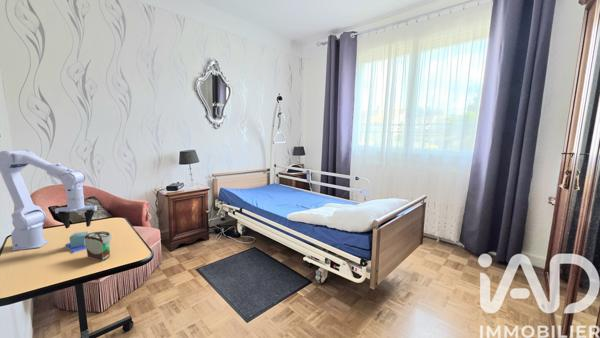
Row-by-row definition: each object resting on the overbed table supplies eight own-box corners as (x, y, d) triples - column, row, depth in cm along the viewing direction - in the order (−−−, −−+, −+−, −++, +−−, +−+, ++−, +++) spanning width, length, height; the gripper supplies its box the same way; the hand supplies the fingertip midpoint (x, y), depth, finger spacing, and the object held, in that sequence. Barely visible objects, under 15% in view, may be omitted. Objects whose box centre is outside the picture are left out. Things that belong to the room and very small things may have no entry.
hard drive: (96, 245, 115) (87, 238, 123) (72, 251, 109) (65, 243, 116) (96, 248, 116) (88, 241, 123) (73, 255, 109) (65, 247, 116)
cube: (70, 247, 112) (69, 237, 111) (75, 243, 117) (74, 233, 116) (84, 246, 114) (83, 235, 113) (88, 241, 119) (87, 231, 118)
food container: (120, 255, 108) (118, 233, 107) (105, 262, 103) (103, 239, 101) (100, 250, 112) (98, 229, 111) (85, 256, 107) (83, 234, 105)
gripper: (49, 201, 106) (53, 231, 108) (91, 199, 112) (94, 228, 113) (58, 197, 113) (61, 226, 115) (97, 195, 118) (100, 222, 120)
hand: (78, 226), depth 115 cm, fingers open, 7 cm apart
